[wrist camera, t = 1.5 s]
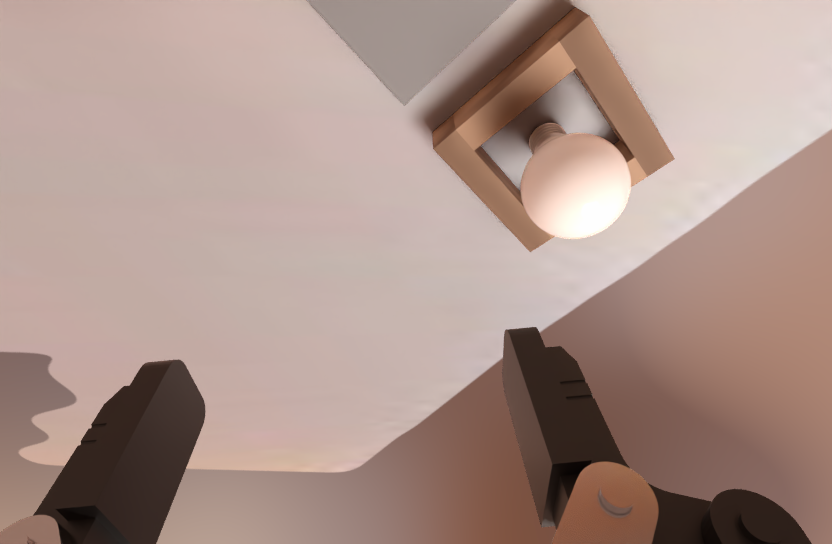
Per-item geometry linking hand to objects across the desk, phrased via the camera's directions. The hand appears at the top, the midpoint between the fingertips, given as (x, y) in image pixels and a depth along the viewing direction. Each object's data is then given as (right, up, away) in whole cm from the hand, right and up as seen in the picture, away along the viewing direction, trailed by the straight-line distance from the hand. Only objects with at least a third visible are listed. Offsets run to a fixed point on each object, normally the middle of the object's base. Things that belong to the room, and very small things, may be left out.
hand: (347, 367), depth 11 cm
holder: (+11, +13, +22) cm, 28 cm away
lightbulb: (+11, +13, +22) cm, 28 cm away
